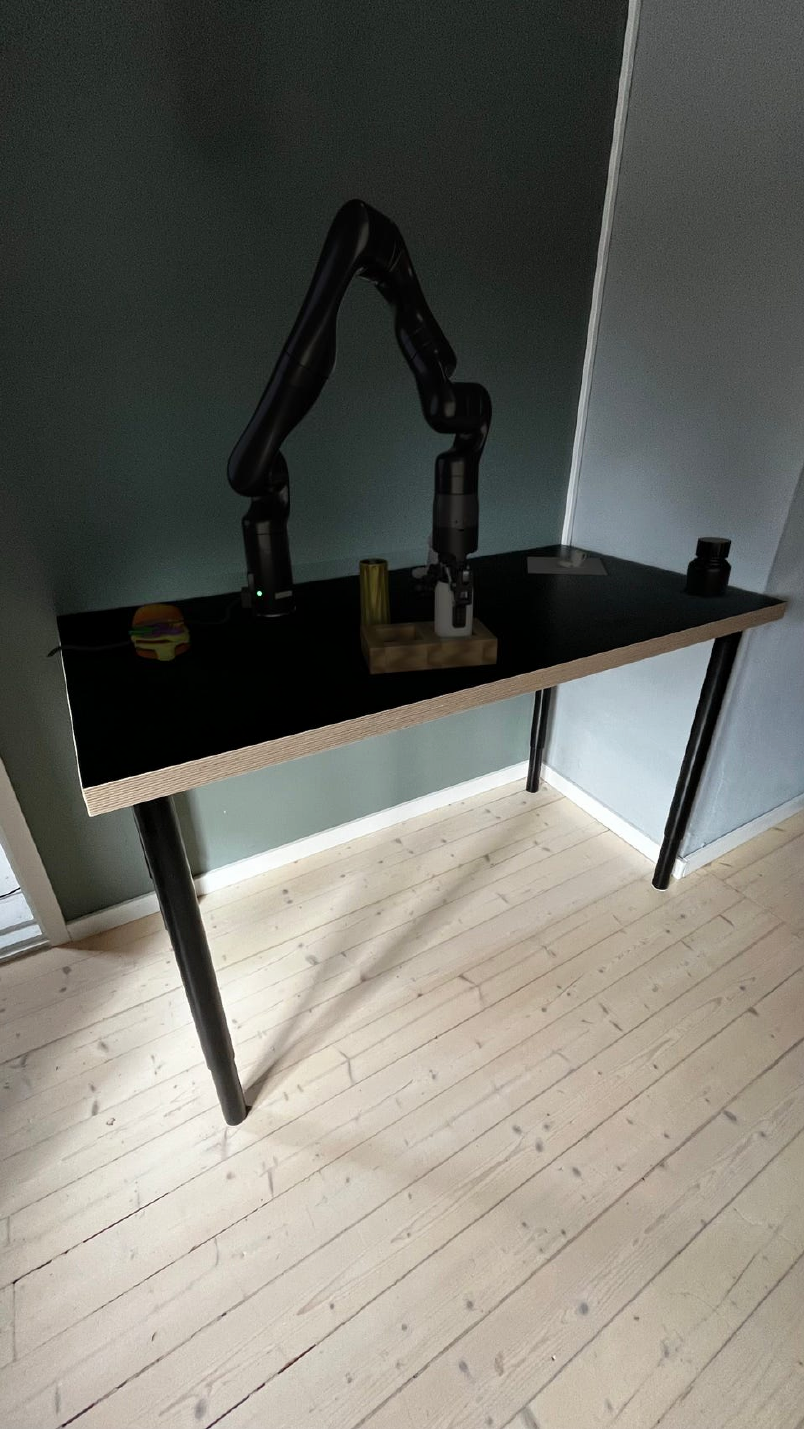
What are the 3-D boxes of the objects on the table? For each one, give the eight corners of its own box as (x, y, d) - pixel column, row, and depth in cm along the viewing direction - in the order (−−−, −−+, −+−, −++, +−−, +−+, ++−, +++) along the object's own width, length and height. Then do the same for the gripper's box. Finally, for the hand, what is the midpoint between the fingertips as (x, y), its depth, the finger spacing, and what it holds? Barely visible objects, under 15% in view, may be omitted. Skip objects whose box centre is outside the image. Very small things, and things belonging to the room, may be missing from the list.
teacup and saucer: (557, 569, 169) (559, 554, 167) (556, 563, 176) (557, 548, 174) (592, 570, 168) (593, 555, 166) (589, 563, 175) (590, 548, 173)
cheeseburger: (135, 666, 109) (122, 608, 107) (135, 661, 119) (123, 607, 117) (196, 656, 113) (185, 599, 111) (191, 652, 123) (181, 599, 120)
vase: (380, 643, 119) (378, 566, 113) (353, 638, 122) (349, 562, 116) (398, 634, 123) (396, 559, 117) (371, 629, 126) (369, 556, 120)
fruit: (418, 561, 139) (473, 551, 146) (399, 567, 146) (453, 557, 153) (426, 601, 141) (480, 589, 148) (407, 604, 148) (459, 593, 155)
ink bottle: (707, 586, 152) (717, 534, 147) (736, 595, 144) (747, 541, 139) (673, 590, 149) (682, 537, 144) (700, 600, 142) (711, 545, 136)
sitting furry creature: (436, 571, 170) (437, 524, 165) (460, 576, 164) (461, 528, 159) (410, 577, 164) (410, 529, 159) (434, 583, 159) (434, 533, 153)
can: (446, 655, 109) (447, 585, 103) (427, 644, 114) (428, 577, 109) (478, 649, 111) (481, 580, 106) (458, 638, 116) (460, 572, 111)
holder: (370, 674, 105) (369, 648, 103) (361, 650, 116) (360, 626, 114) (496, 663, 109) (497, 638, 107) (475, 641, 119) (476, 617, 117)
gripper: (423, 515, 109) (423, 610, 116) (444, 530, 96) (442, 636, 103) (465, 513, 110) (463, 608, 117) (491, 527, 97) (487, 632, 105)
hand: (453, 620), depth 110 cm, fingers closed on can, 6 cm apart
